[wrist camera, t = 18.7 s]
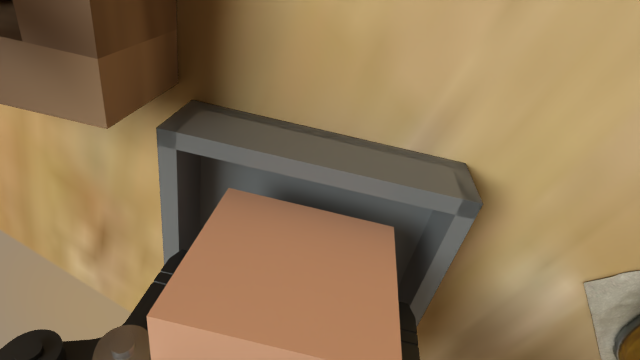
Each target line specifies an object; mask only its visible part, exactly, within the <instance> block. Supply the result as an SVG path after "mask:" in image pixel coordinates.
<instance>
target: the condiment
mask: <svg viewBox="0 0 640 360" xmlns="http://www.w3.org/2000/svg"><path fill="white" fill-rule="evenodd" d="M584 287H585V291H586V294H587V298H588V304H589V308H590V311H591V314H592V319H593V324H594V328H595V333H596V337H597V342H598V347H599V352H600V356H601V359H602V360H640V271H634V272H627V273H622V274H618V275H616V276H613V277H609V278H604V279H600V280H595V281H590V282H585V283H584Z"/></svg>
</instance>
